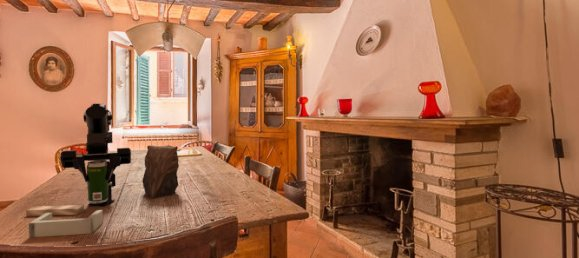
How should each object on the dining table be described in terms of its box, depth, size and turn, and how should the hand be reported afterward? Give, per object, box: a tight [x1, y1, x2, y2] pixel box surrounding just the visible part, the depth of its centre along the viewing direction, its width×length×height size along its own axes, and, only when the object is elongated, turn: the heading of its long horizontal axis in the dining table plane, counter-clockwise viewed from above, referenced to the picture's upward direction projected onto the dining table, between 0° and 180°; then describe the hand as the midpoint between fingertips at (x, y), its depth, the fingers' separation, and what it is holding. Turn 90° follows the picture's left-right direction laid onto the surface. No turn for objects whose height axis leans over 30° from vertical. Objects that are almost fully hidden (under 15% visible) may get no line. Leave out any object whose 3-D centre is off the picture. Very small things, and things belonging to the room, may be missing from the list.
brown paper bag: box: [142, 144, 180, 200], centre depth 136 cm, size 13×13×20 cm
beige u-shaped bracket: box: [28, 209, 104, 238], centre depth 96 cm, size 9×16×4 cm, turn 101°
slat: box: [25, 204, 85, 217], centre depth 111 cm, size 16×4×2 cm, turn 96°
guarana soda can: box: [86, 160, 108, 203], centre depth 99 cm, size 5×5×12 cm
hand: (97, 180), depth 98 cm, fingers closed on guarana soda can, 5 cm apart
